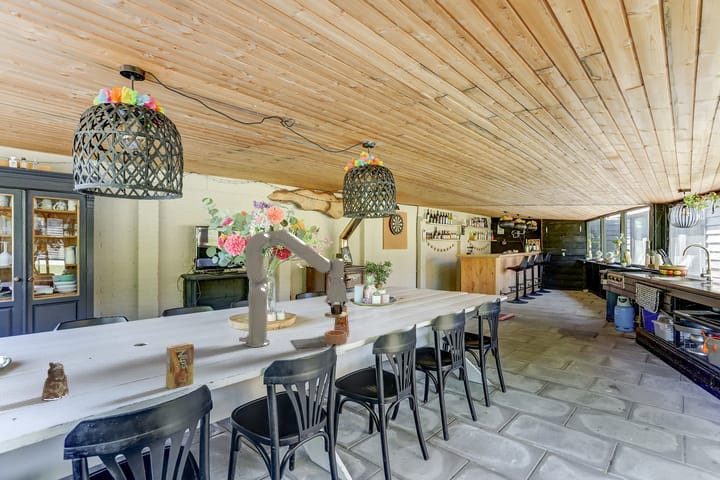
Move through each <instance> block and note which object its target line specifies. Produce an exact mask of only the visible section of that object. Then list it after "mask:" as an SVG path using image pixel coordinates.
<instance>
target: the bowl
mask: <svg viewBox="0 0 720 480" xmlns="http://www.w3.org/2000/svg"><path fill="white" fill-rule="evenodd" d="M323 342H324V343H325V344H326V345H330V346H334V345H333V344H336V345H335V346H340V345H345V344H347V342H348V337H347V332H346V331H342V330H334V329H332V330H331V329H330V330H326V331H325V332H324V340H323Z"/></svg>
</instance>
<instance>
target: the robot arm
mask: <svg viewBox="0 0 720 480" xmlns="http://www.w3.org/2000/svg"><path fill="white" fill-rule="evenodd" d="M277 246H283V248H285V249H286V250H288V251H289V252H290V253H292V254H294V255H295V256H296V257H297V258H299V259H300V260H302V261H304V262H306V264H308V265H310V266H311V267H312V268H314V269H315V270H317V272H320V273H322V274H325V273H327V272H329V278H327V282H328V287H327V293H326V296H327V297H326V298H325V300H324V301H323V302H324V303H325V304H326V305H328V306H329V307H330V312H331V313H332V314H333V315H334V304H335V303H339V305H340V314H342V307H343V305H346V303H348V302H349V301H350V300H349V298H348V297H347V296H348V295H347V287H346V283H345V282H344V273H345V272H344V271H345V270H344V269H345V267H344V264H345V263H344V259H343V258H340V257H339V258H338V257H337V258H336V257H334V258H327V257H324V256H323V255H321V254H320V253H318V251H315V250H314V249H313V248H312V247H311V246H310V245H309V244H308V243H306V241H303V239H301V238H300V237H297V236H296V235H295V234H294V233H292V232H291V231H290V230H288V229H285V228H283V229H280V230H273V231H272V230H271V231H259V232H256V233H255V234H253V235H252V236H251V237H249V239H248V241H246V245H245V263H246V274H247V275H246V276H247V278H248V280H249V284H250V289H249V291H248V294H247V300H248V326H247V327H248V334H247V335H246V336H245V337H243V336H241V337H239V339H238V342H242V343H243V342H244V345H245V346H246V347H249V346H250V348H260V347H265V346H268V345H270V339H268V338H267V337H268V336H267V335H268V334H267V333H268V329H267V328H268V323H267V322H268V295H269V290H270V289H269V281H268V272H267V269H266V267H265V266H264V261H263V259H264V258H263V249H264V248H271V247H277Z"/></svg>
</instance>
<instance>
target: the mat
mask: <svg viewBox="0 0 720 480" xmlns="http://www.w3.org/2000/svg"><path fill="white" fill-rule="evenodd" d="M290 341H291V343H292V345H293V346H294V348H296V350H303V349H315V348H325V347H328V344H326V343H325V342H324V340H322V339H321V338H320V337H312V338H300V339H291V340H290Z"/></svg>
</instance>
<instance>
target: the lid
mask: <svg viewBox="0 0 720 480" xmlns="http://www.w3.org/2000/svg"><path fill="white" fill-rule="evenodd" d="M347 316H348V317H349V313H348V312H347V313H346V312H342V314H340V304H338V303H337V304H336V303H334V315H333V314H332V313H331V311H329V312H325V313H324V317H326V318H330V319H332V318H333V319H335V318H343V317H347Z"/></svg>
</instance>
